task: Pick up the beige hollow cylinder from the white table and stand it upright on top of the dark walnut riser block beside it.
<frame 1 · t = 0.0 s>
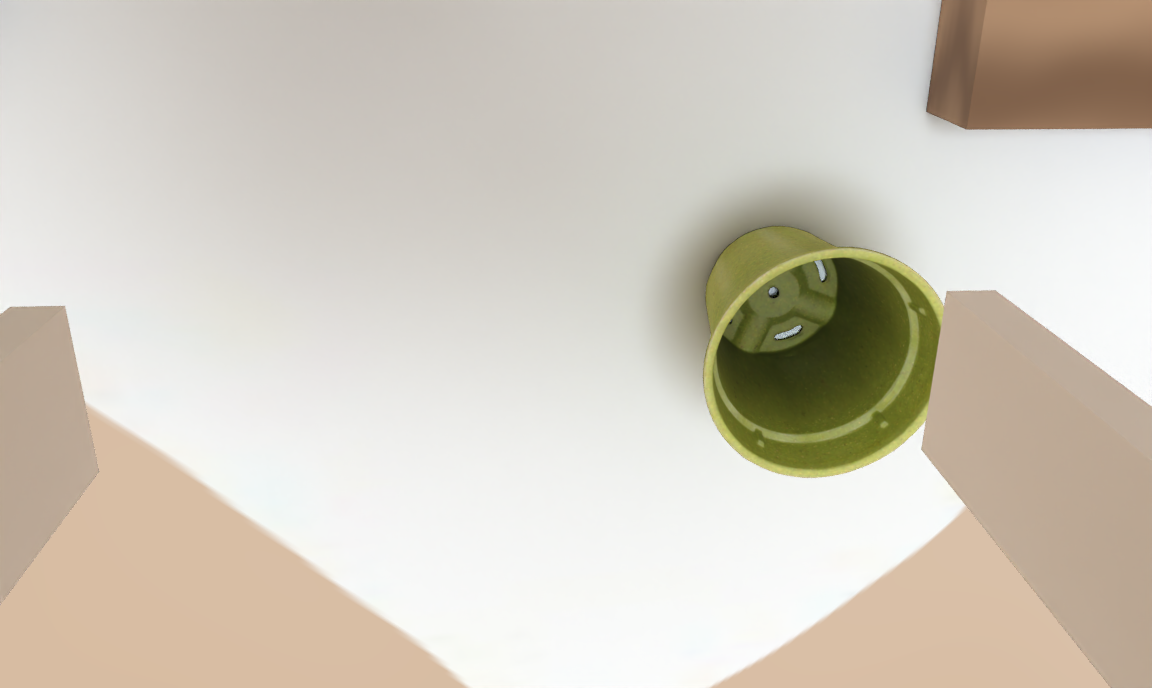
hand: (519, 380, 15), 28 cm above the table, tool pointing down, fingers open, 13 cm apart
plant pot: (770, 289, 45), on the table
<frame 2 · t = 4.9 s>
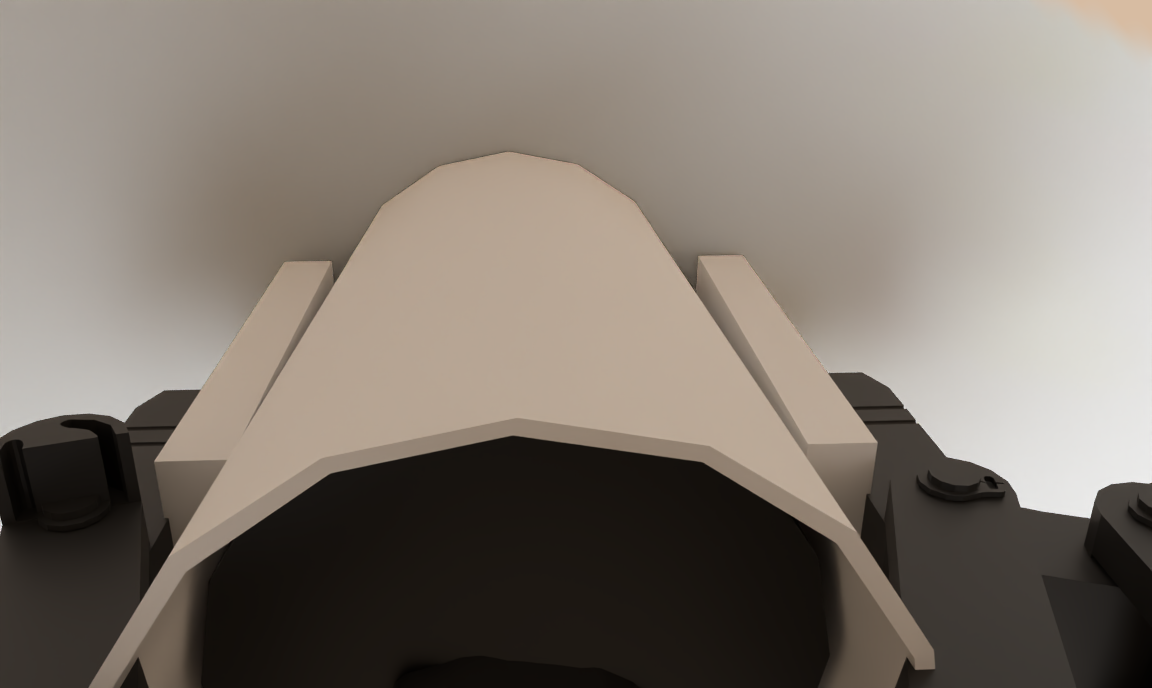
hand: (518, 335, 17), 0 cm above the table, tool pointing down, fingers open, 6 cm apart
beige hollow cylinder: (512, 316, 17), on the table, touching gripper
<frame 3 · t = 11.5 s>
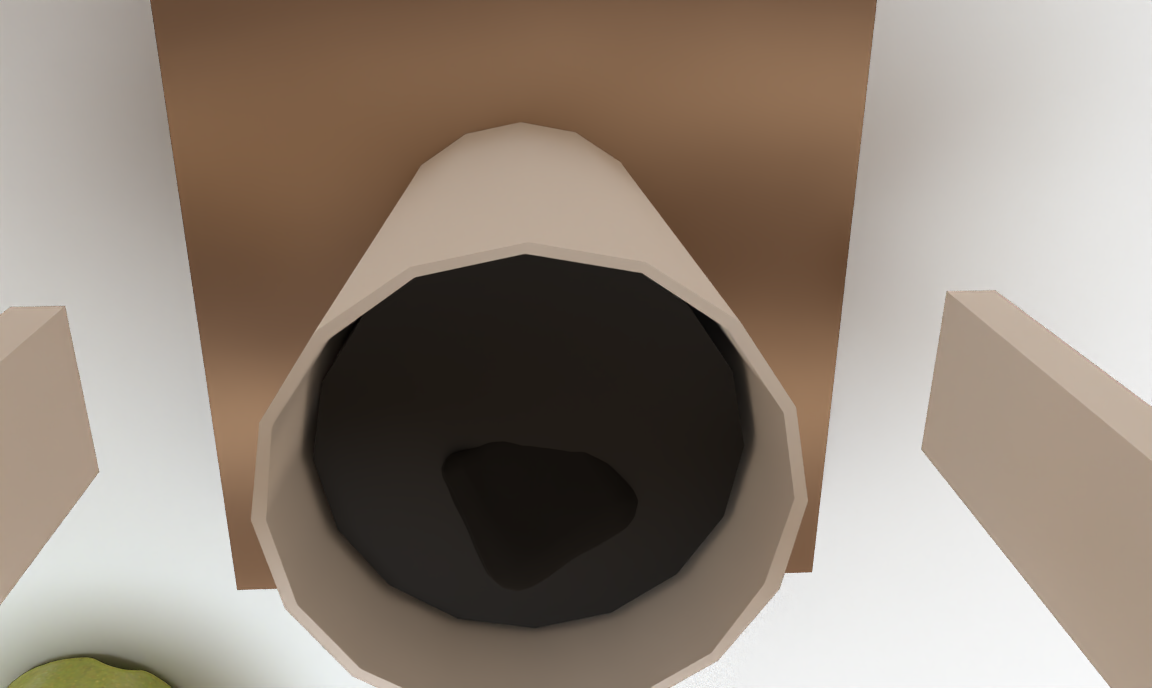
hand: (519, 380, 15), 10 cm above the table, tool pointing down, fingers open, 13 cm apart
beige hollow cylinder: (523, 256, 21), point 4 cm above the table, touching walnut riser block
walnut riser block: (522, 218, 25), on the table
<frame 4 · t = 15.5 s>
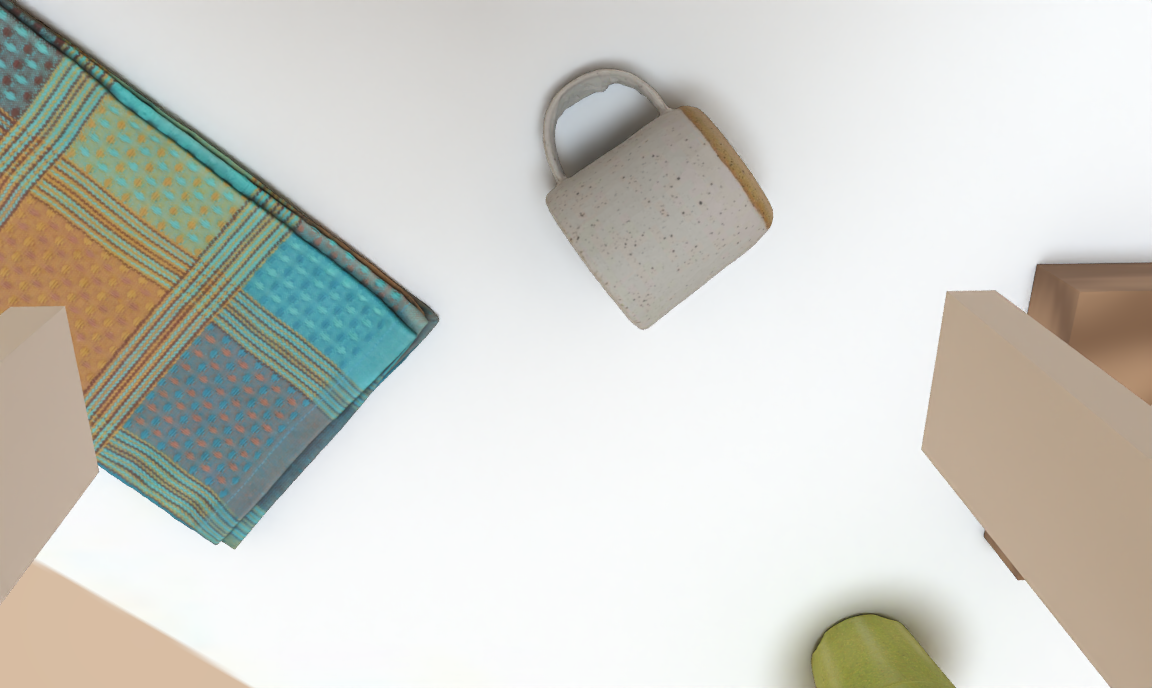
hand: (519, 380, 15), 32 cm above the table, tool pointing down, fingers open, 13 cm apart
plant pot: (860, 652, 59), on the table
ceramic mug: (629, 175, 47), on the table
walnut riser block: (1136, 405, 53), on the table
dish towel: (140, 290, 48), on the table
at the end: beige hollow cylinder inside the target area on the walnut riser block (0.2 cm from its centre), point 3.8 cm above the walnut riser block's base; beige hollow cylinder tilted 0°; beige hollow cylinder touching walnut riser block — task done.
